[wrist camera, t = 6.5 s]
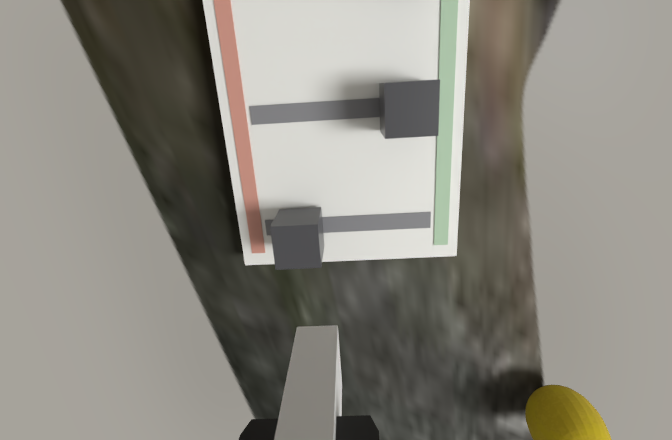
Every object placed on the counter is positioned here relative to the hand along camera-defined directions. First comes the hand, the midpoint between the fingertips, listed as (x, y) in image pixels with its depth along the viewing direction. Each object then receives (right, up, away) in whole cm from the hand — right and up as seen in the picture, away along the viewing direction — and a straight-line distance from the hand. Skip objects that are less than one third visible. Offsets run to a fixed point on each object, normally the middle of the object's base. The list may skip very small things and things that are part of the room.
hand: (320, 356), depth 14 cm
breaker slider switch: (-2, +5, +13) cm, 14 cm away
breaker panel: (+1, +13, +12) cm, 18 cm away
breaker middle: (+5, +12, +10) cm, 17 cm away
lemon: (+20, -10, +21) cm, 30 cm away
